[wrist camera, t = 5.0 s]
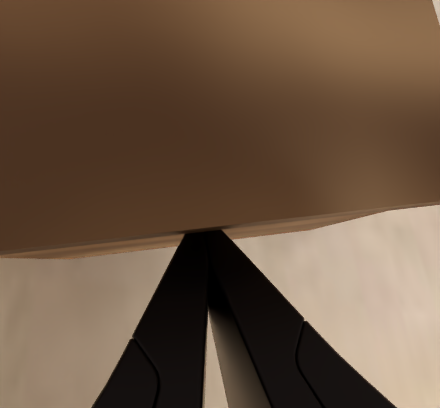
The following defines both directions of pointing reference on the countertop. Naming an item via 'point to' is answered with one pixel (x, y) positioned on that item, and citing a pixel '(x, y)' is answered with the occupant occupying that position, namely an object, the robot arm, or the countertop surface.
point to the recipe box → (210, 119)
